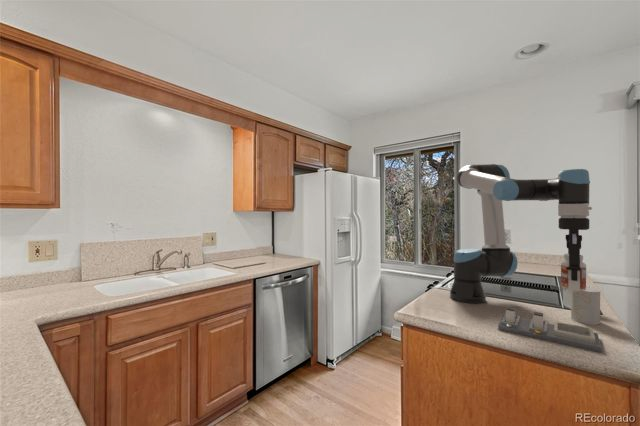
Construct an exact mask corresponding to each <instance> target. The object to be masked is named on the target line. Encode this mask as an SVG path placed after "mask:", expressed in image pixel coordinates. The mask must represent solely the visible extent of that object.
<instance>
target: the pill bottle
mask: <svg viewBox="0 0 640 426" xmlns="http://www.w3.org/2000/svg"><path fill="white" fill-rule="evenodd" d="M563 259H564V260H562V261H561V263H560V287H561V288H562V289H563V288H564V289H568V270H567V269H566V267H569V254H568V253H564V254H563ZM583 261H584V255H583V254H580V267H581V268H580V291H584V290H586V286H587V264H586V263H585V262H583Z"/></svg>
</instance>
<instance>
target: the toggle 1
mask: <svg viewBox="0 0 640 426" xmlns="http://www.w3.org/2000/svg"><path fill="white" fill-rule="evenodd" d="M505 314H506V322H508V323H513V324H514V323H515V315H516V307H510V306H506V307H505Z"/></svg>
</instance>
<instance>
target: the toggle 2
mask: <svg viewBox="0 0 640 426" xmlns="http://www.w3.org/2000/svg"><path fill="white" fill-rule="evenodd" d="M533 319H534V328H537V329H542V330H543V321H544V313H543V312H538V311H533Z"/></svg>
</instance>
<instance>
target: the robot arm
mask: <svg viewBox="0 0 640 426" xmlns="http://www.w3.org/2000/svg"><path fill="white" fill-rule="evenodd" d="M455 179H456V183H457V184H458V186H460V187H462V188H463V189H469V190H470V189H474V190H477V194H479V195H480V199H481V209H482V212H481V213H482V224H483V237H484V244H483V246H482V247H481V249H480V248H475V247H472V248H460V249H457V250H456V251H454V254H453V283H452V285H451V288H450V292H449V297H450V299H452V300H454V301H457V302H462V303H469V304H481V303H482V304H483V303H486V301H487V296H486V292H485V289H484V286H483V283H482V277H498V278H499V277H501V278H503V277H510V276H512V275H514V274H515V272H516V270H517V268H518V257H517V255H516V253H514V252H513V251H511V247H510V246H509V245H508V244H506V241H507V240H506V230H505V221H504V209H503V208H504V207H503V201H506V202H510V201H512V202H513V201H541V202H543V201H544V202H548V201H555V200H557V201H558V203H557V205H558V207H557V209H558V210H557V211H558V216H559V218H558V229H560V230H568V234H565V241H566V249H567V251H568V252H567V254H569V267H566V269H567V270H568V290H572V291H580V268H581V267H580V255H581V250H582V242H583V235H582V234H580V233H579V231H588V230H589V229H590V218H589V216H590V211H591V210H592V209H593V207H591V206H590V183H591V180H590V173H589V171H588V169H585V168H574V169H573V168H572V169H565V170H561V171H559V172H558V176H557V177H556V178H548V179H547V178H546V179H545V178H544V179H541V178H540V179H538V178H537V179H536V178H534V179H516V178H515V179H514V178H511V175H510V171H509V170H508V168H507V167H506V166H504V165H502V164H495V163H491V164H490V163H489V164H468V165H465V166H462V168H460V169H459V170H458V171H457V173H456V177H455Z"/></svg>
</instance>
